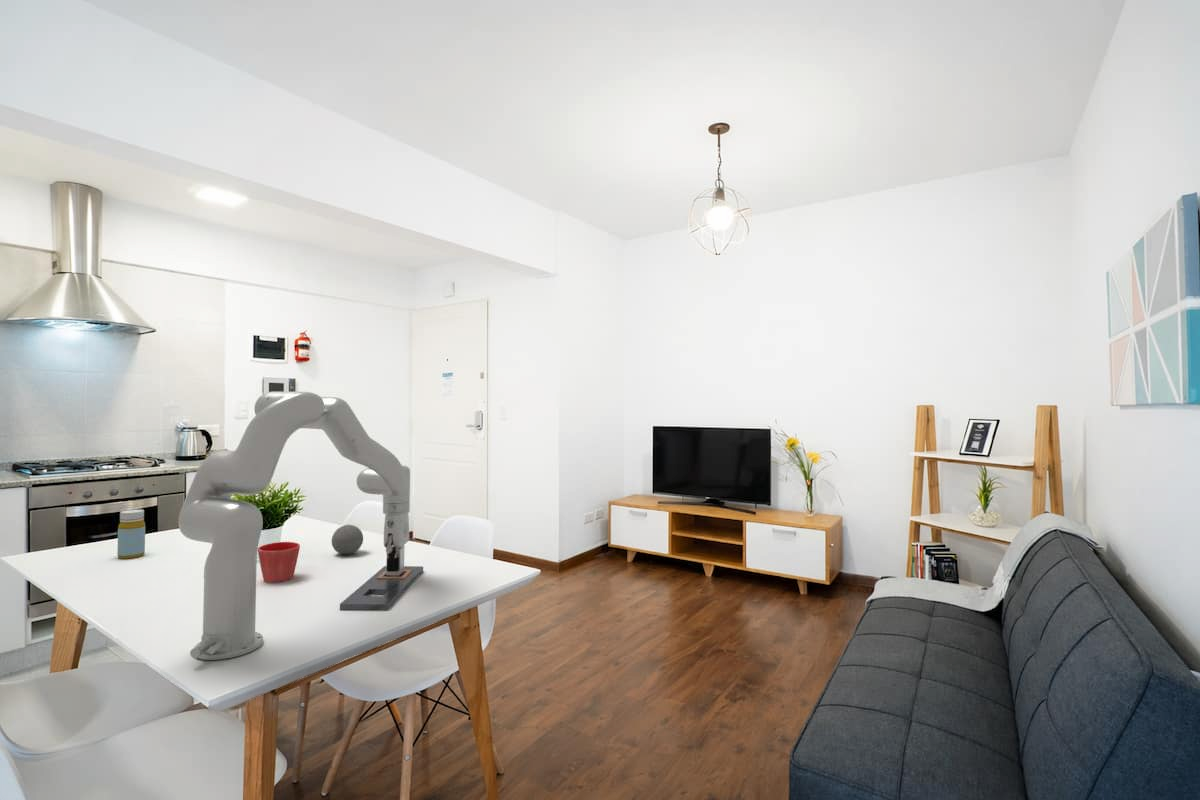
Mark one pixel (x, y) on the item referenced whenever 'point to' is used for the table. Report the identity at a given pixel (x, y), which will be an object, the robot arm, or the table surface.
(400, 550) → the steel rectangular block
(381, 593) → the grey board with holes
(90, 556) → the table surface
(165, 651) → the table surface
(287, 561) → the flower pot
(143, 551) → the bottle
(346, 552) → the decorative ball
